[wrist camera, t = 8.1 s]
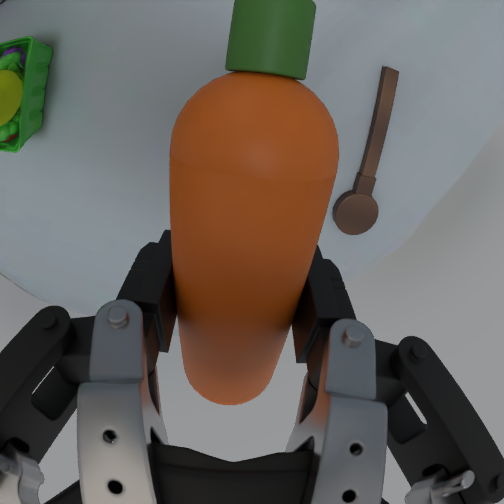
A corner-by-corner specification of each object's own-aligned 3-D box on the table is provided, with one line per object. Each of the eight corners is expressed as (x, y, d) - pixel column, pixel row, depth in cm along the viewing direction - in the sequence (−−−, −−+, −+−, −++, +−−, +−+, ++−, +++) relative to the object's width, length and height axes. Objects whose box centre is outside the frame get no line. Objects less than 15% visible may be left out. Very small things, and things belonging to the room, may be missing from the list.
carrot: (201, 13, 6) (162, -33, 2) (336, 30, 6) (400, 4, 3) (191, 346, 14) (181, 412, 11) (265, 352, 14) (267, 418, 11)
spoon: (365, 60, 18) (370, 60, 17) (409, 77, 18) (415, 77, 18) (327, 227, 28) (330, 232, 27) (367, 232, 29) (370, 237, 28)
